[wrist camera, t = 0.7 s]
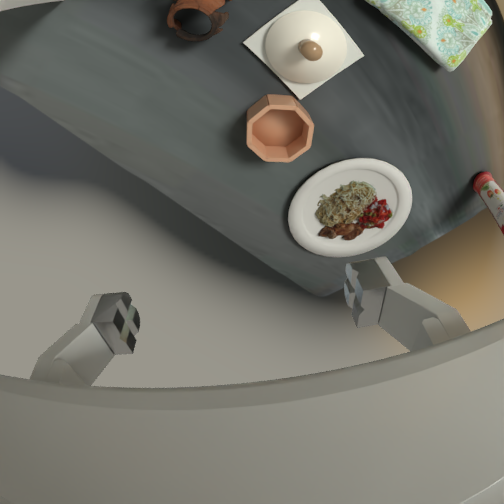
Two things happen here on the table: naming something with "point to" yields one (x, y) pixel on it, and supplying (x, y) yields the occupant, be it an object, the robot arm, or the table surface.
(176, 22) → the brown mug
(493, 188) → the liquor
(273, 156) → the bowl
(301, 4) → the mat
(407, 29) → the towel
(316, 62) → the lid
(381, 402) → the robot arm
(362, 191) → the plated food
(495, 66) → the table surface
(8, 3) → the milk
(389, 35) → the table surface
